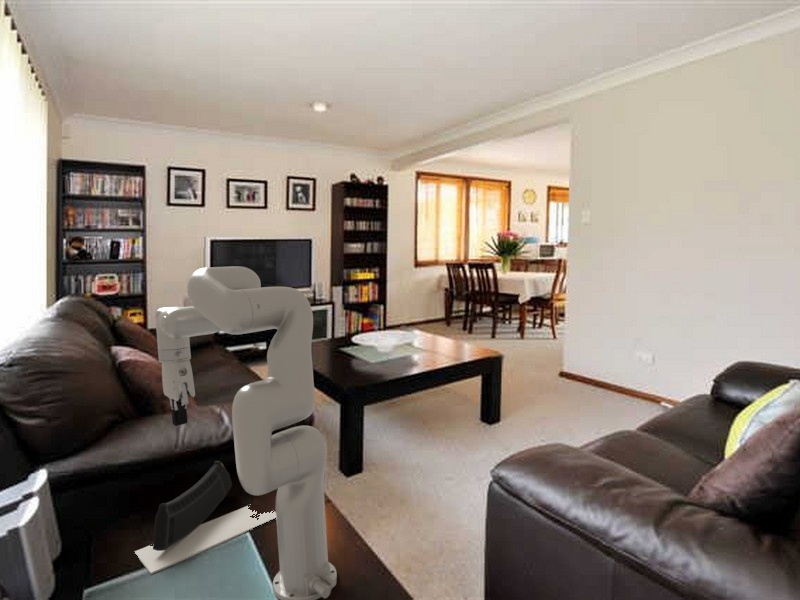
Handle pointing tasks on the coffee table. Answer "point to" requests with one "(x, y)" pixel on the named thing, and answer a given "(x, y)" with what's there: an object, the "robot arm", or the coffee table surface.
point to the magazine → (190, 507)
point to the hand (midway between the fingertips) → (180, 423)
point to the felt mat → (203, 538)
